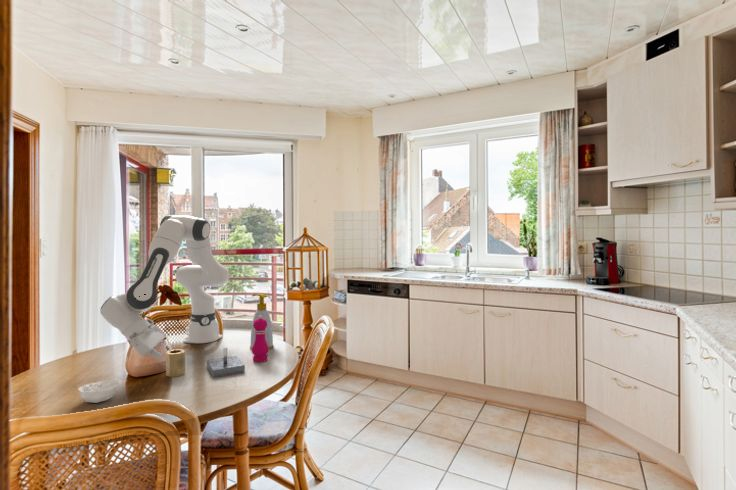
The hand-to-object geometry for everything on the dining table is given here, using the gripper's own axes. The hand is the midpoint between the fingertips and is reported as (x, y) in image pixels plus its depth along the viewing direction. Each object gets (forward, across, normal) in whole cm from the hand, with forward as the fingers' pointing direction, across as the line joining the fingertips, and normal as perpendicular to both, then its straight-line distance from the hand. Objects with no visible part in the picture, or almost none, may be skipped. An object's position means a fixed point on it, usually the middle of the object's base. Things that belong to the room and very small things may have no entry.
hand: (165, 353), depth 159 cm
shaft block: (+22, +2, -10) cm, 24 cm away
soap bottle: (+31, +31, -19) cm, 47 cm away
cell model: (-4, -22, +17) cm, 28 cm away
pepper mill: (+31, +12, -19) cm, 39 cm away
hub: (+8, 0, +3) cm, 9 cm away
